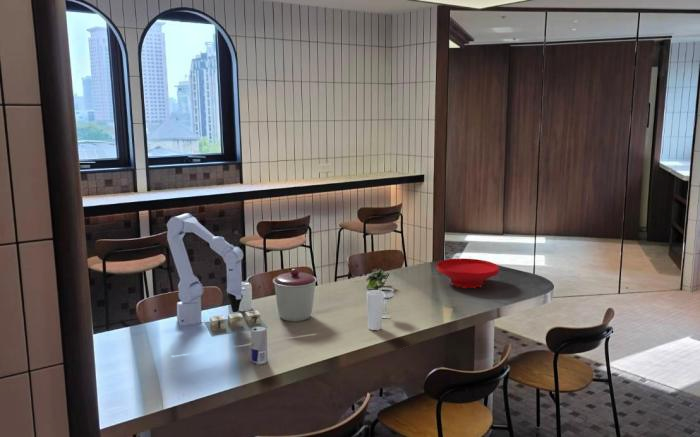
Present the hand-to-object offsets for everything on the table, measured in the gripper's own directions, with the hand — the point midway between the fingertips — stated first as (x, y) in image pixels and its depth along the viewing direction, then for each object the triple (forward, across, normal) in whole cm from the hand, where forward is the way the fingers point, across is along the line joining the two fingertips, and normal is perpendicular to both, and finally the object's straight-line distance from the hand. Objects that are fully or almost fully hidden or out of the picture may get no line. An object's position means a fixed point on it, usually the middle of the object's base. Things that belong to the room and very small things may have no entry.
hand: (235, 311), depth 223 cm
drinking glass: (+7, -24, -50) cm, 56 cm away
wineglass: (+7, -14, -60) cm, 62 cm away
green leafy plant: (+7, +24, -76) cm, 80 cm away
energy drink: (+6, -36, 0) cm, 36 cm away
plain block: (+6, 0, 0) cm, 6 cm away
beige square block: (+6, 0, +7) cm, 9 cm away
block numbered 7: (+6, 0, -7) cm, 9 cm away
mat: (+6, 0, 0) cm, 6 cm away
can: (+6, +18, -8) cm, 21 cm away
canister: (+6, 0, -25) cm, 26 cm away
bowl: (+7, +12, -120) cm, 121 cm away
